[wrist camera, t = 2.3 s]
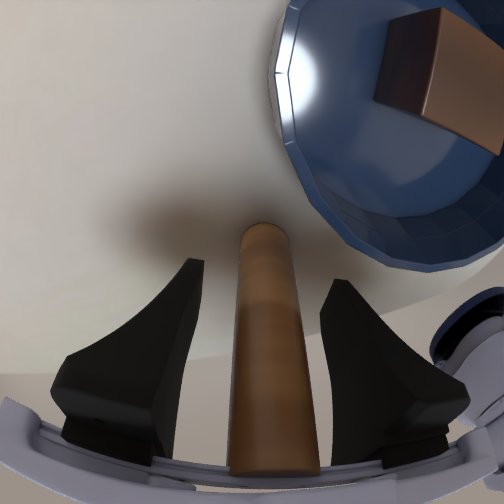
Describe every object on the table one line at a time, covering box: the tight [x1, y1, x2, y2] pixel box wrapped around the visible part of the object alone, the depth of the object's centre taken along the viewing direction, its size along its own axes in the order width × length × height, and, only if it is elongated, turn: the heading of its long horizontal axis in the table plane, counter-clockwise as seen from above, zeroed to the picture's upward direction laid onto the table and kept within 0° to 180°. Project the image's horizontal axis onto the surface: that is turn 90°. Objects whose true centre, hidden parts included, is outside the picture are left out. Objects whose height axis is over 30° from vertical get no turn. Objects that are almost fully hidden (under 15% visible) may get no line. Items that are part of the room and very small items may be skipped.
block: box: [374, 7, 504, 156], centre depth 8 cm, size 4×4×4 cm
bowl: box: [268, 0, 504, 273], centre depth 9 cm, size 13×13×4 cm
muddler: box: [226, 223, 321, 478], centre depth 10 cm, size 2×2×11 cm
